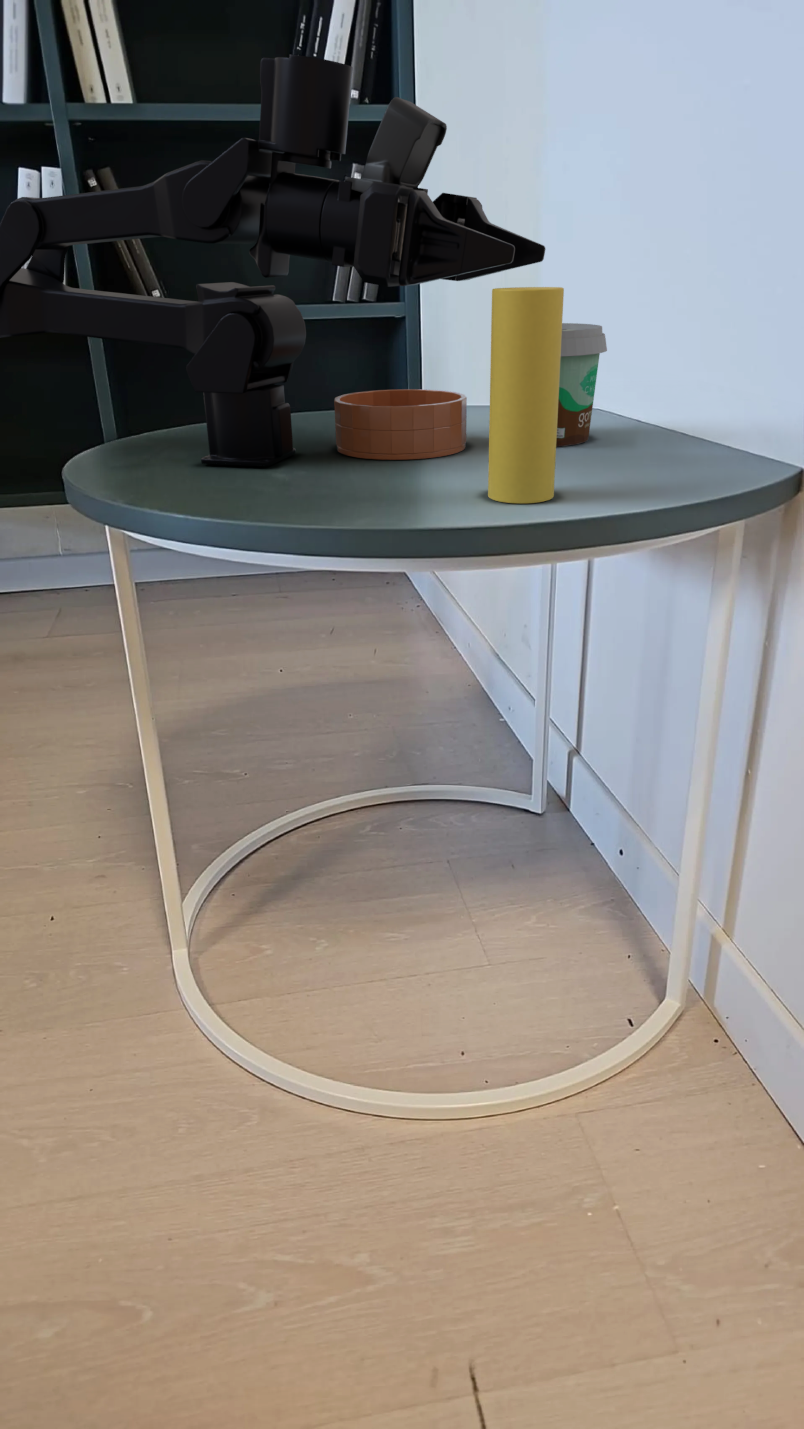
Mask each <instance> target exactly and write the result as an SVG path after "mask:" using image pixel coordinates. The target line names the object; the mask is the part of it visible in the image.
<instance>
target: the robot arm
mask: <svg viewBox="0 0 804 1429" xmlns="http://www.w3.org/2000/svg"><path fill="white" fill-rule="evenodd" d="M259 67H260V68H259V82H260V89H261V90H260V91H261V92H260V94H261V95H260V96H261V97H260V112H259V113H260V115H259V132H258V139H252V138H248V137H241V138H240V139H239V140H237V141H236V142H234V143H233V144H232V145H231V146H230V147H228V148H227V149H226V150H225V151H224V152H222V153H221V154H220V155H219V156H218V157H216V158H215V159H214V160H205V159H204V160H203V159H201V160H199V161H198V160H197V161H195V162H192V163H190V164H187V165H184V166H182V167H178V168H176V169H173V170H171V171H167V172H166V173H164V174H163V175H162V176H160V177H158V178H157V179H156V180H154V181H152V182H149V183H147V184H144V185H140V186H132V187H131V186H130V187H124V188H123V187H122V188H114V189H107V190H97V191H89V192H81V193H72V194H64V195H63V194H62V195H56V196H48V197H46V196H45V197H33V196H32V197H30V196H21V197H18V198H16V199H15V200H13V201H12V202H10V204H8V206H7V207H6V209H5V212H4V214H3V215H2V218H1V220H0V338H11V337H20V336H29V335H37V334H39V335H41V334H49V333H53V334H54V333H55V334H61V335H71V336H78V337H85V338H93V339H100V340H109V341H117V342H118V341H119V342H125V343H126V342H127V343H133V344H135V343H136V344H140V345H141V344H142V345H148V346H157V347H165V348H174V349H180V350H184V351H188V352H189V353H191V354H193V356H192V358H191V359H190V360H189V362H188V363H187V364H186V366H185V370H186V373H187V376H188V379H189V382H190V384H191V386H192V388H193V390H194V392H195V393H202V394H203V404H204V412H205V413H204V415H205V424H206V432H207V433H206V434H207V442H208V443H207V444H208V451H209V452H208V453H209V454H208V455H205V456H202V457H201V458H200V462H201V464H203V465H220V466H221V465H222V466H224V465H225V466H246V467H270V466H273V465H275V464H276V463H280V462H281V461H283V460H285V459H287V458H290V457H292V456H294V455H296V454H297V451H296V448H295V447H294V442H293V428H292V412H291V411H292V410H291V405H290V404H289V403H288V402H286V400H285V385H284V384H280V383H288V382H289V381H290V379H291V375H292V371H293V367H294V362H295V360H296V359H297V358H298V357H299V356H300V355H301V353H302V351H303V349H304V347H305V345H306V339H307V329H306V322H305V319H304V316H303V314H302V312H301V310H300V309H299V308H298V307H297V305H296V302H294V300H292V299H291V298H290V297H288V296H285V295H283V294H275V293H274V292H275V291H276V286H275V285H274V284H273V285H272V284H271V285H256V286H249V285H246V284H242V283H239V282H234V281H230V282H229V281H228V282H227V281H226V282H212V283H209V282H208V283H196V285H195V287H196V288H195V289H196V293H197V299H198V301H197V300H196V301H195V300H187V299H186V300H185V299H177V298H168V297H159V296H150V295H143V294H142V295H140V294H130V293H122V292H115V291H114V292H113V291H103V290H96V289H95V290H94V289H85V288H76V287H71V286H69V285H66V284H64V282H65V270H66V256H67V253H68V251H69V249H70V247H71V246H76V245H77V246H78V245H88V244H89V245H90V244H98V243H109V242H118V241H130V240H139V239H150V238H160V237H163V238H168V239H172V240H173V239H174V240H178V241H188V242H192V243H193V242H194V243H203V244H217V245H218V244H219V245H220V244H223V245H224V244H226V245H228V244H230V245H233V244H234V245H250V244H253V243H255V244H254V245H253V246H252V247H251V248H250V249H249V250H248V253H249V255H250V256H251V257H252V258H253V259H254V261H255V263H256V265H257V269H258V270H259V272H260V274H261V275H262V277H263V278H265V279H267V278H268V279H269V278H283V277H284V278H285V277H287V276H288V274H289V268H290V256H295V257H299V258H305V259H310V260H317V261H322V262H328V263H331V266H335V267H341V268H351V267H352V268H354V269H355V271H356V273H357V274H358V275H359V277H360V279H361V280H362V282H363V283H366V284H370V285H371V284H372V285H376V286H380V287H381V286H382V287H387V288H390V287H391V288H392V287H409V286H417V285H422V284H426V283H429V282H434V281H439V280H443V281H444V280H445V281H453V282H463V281H464V282H465V281H469V280H473V279H476V278H481V277H484V276H489V275H494V274H497V273H501V272H504V271H509V270H512V269H517V268H521V267H525V266H526V267H527V266H529V265H533V264H538V263H542V262H543V261H544V259H545V255H546V246H545V245H543V244H542V243H539V242H536V241H534V240H532V239H529V238H527V237H525V236H523V235H520V234H517V233H515V232H513V231H510V230H508V229H506V228H504V227H501V226H499V225H496V224H495V223H492V222H490V221H489V219H488V217H487V215H486V214H485V211H484V210H483V205H482V203H481V202H480V200H479V199H477V197H474V196H468V195H462V194H454V193H447V192H442V193H440V194H439V195H438V196H437V197H436V198H435V199H434V200H432V199H431V197H430V196H429V189H427V188H422V187H419V186H420V185H421V183H422V182H423V180H424V178H425V176H426V173H427V171H428V169H429V167H430V164H431V162H432V160H433V158H434V155H435V153H436V151H437V149H438V147H440V146H441V145H443V141H444V139H445V136H446V134H447V129H448V126H447V123H445V122H444V121H442V120H440V119H439V118H438V117H436V116H434V115H433V114H431V113H430V112H427V110H425V109H423V108H422V107H420V106H418V105H416V104H415V103H413V102H412V101H410V100H406V99H403V98H401V97H398V96H395V97H393V98H392V99H391V100H390V102H389V103H388V105H387V107H386V109H385V112H384V113H383V116H382V118H381V121H380V124H379V125H378V128H377V131H376V134H375V136H374V137H373V138H374V139H373V140H372V143H371V145H370V148H369V150H368V153H367V155H366V156H367V157H366V162H365V165H364V168H363V170H362V173H361V176H360V178H357V177H351V176H344V180H341V179H340V180H339V179H333V178H327V177H321V176H314V175H307V174H300V173H296V164H297V165H298V164H299V165H303V166H310V167H317V168H324V169H331V168H332V161H338V162H341V160H342V155H346V149H347V139H348V126H349V116H350V106H351V94H352V82H353V73H354V72H353V71H354V67H353V66H351V65H349V64H346V63H342V62H338V61H334V60H330V59H326V58H325V59H324V58H320V57H313V56H306V55H300V54H290V53H289V56H288V57H286V56H285V57H284V56H277V57H274V58H271V57H263V58H261V60H260V66H259ZM27 263H28V264H27ZM26 264H27V266H26V268H24V266H25V265H26Z"/></svg>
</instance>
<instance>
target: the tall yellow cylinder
mask: <svg viewBox="0 0 804 1429" xmlns="http://www.w3.org/2000/svg"><path fill="white" fill-rule="evenodd" d="M564 292H565V288H564V287H561V286H525V287H524V286H519V287H495V288H492V289H491V317H490V318H491V319H490V320H491V321H490V322H491V325H490V333H491V334H490V368H489V369H490V371H489V372H490V373H489V374H490V376H489V377H490V379H489V384H490V385H489V420H488V421H489V422H488V423H489V425H488V426H489V428H488V472H487V473H488V476H487V477H488V481H487V482H488V483H487V496H488V498H489V499H490V500H492V501H496V502H499V503H506V504H518V505H519V504H520V505H521V504H522V505H523V504H537V503H543V502H547V501H550V500H552V499H554V496H555V480H556V479H555V478H556V460H557V459H556V456H557V446H556V440H557V419H558V399H559V378H560V358H561V338H562V323H563V315H564V313H563V312H564V296H565V295H564V294H565V293H564Z"/></svg>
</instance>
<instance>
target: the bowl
mask: <svg viewBox="0 0 804 1429" xmlns="http://www.w3.org/2000/svg"><path fill="white" fill-rule="evenodd" d="M467 398H468V397H467V396H466V394H464V393H460V392H456V391H449V390H441V389H423V388H422V389H420V388H419V389H418V388H402V389H397V388H396V389H377V390H375V389H374V390H365V391H356V392H350V393H345V394H342V395H339V396H336V397H334V400H333V404H334V423H335V424H334V425H335V427H334V428H335V446H336V451H337V452H338V453H340V454H341V455H343V456H347V457H353V458H357V459H365V460H380V461H381V460H382V461H406V460H407V461H409V460H410V461H411V460H422V459H423V460H424V459H425V460H426V459H433V458H442V457H446V456H447V457H448V456H452V455H455V454H458V453H460V452H462V451H464V450H465V449H466V447H467V446H466V443H467V415H468V414H467V405H468V404H467V403H468V402H467Z"/></svg>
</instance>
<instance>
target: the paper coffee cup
mask: <svg viewBox="0 0 804 1429" xmlns="http://www.w3.org/2000/svg"><path fill="white" fill-rule="evenodd" d="M607 351H608V346H607V339H606V333H604V332H603V326H602V325H600V324H593V323H578V322H576V323H573V322H569V323H568V322H562V338H561V358H560V378H559V399H558V419H557V440H556V447H567V446H575V445H579V444H583V443H586V442H588V441H589V437H590V430H591V422H592V415H593V408H594V407H593V406H594V399H595V393H596V392H595V391H596V385H597V377H598V369H599V363H600V362H599V361H600V354H602V353H603V354H604V353H606V352H607Z"/></svg>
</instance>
